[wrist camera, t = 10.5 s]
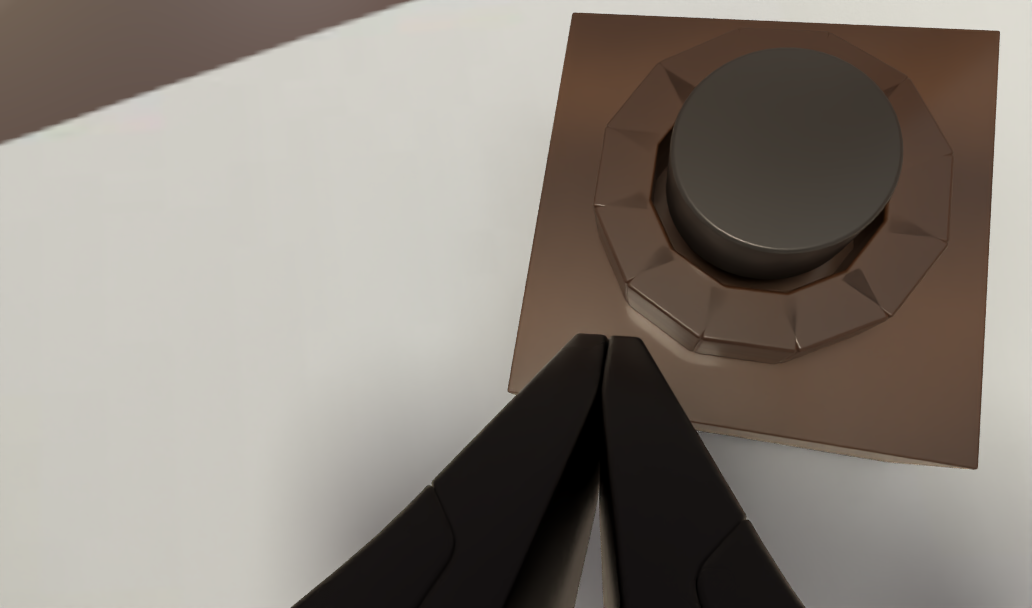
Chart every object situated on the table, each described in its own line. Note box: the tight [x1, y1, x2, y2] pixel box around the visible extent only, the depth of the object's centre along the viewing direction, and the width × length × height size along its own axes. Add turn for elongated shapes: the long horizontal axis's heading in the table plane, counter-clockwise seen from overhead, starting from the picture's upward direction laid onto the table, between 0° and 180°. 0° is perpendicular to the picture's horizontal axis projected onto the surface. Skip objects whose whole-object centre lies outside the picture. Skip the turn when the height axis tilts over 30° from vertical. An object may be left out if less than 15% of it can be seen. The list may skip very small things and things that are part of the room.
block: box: [508, 13, 1000, 470], centre depth 17 cm, size 10×10×7 cm
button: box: [666, 48, 903, 280], centre depth 13 cm, size 4×4×2 cm
